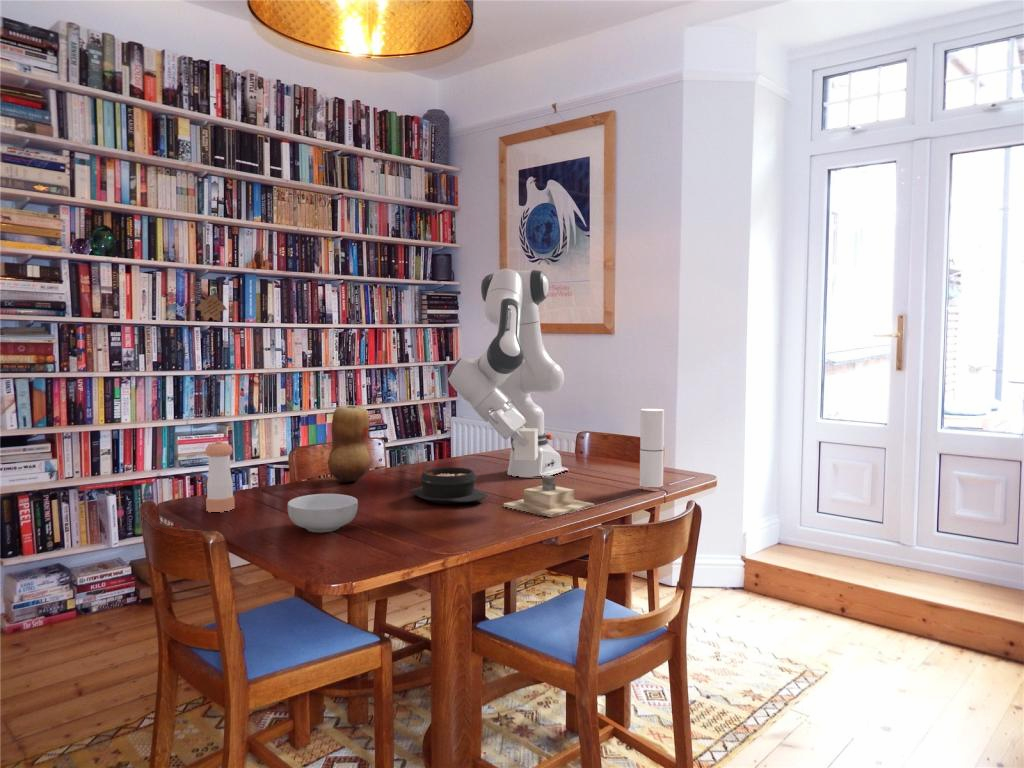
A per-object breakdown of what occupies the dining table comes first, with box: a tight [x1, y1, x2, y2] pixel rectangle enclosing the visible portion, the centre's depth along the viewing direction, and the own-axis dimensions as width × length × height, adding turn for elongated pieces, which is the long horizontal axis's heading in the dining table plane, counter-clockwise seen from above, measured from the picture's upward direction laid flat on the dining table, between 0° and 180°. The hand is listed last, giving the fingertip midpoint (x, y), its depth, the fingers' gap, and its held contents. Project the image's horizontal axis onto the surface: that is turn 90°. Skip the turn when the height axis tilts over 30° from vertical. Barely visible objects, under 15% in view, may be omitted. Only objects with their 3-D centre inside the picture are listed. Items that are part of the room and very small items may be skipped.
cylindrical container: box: [639, 408, 665, 487], centre depth 232 cm, size 7×7×25 cm
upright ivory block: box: [514, 428, 538, 461], centre depth 205 cm, size 6×6×8 cm
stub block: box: [502, 476, 595, 518], centre depth 208 cm, size 18×18×8 cm
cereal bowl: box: [287, 493, 359, 533], centre depth 185 cm, size 17×17×7 cm
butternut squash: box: [327, 404, 371, 483], centre depth 243 cm, size 14×13×25 cm
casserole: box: [409, 466, 489, 505], centre depth 218 cm, size 25×19×8 cm
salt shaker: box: [204, 440, 236, 513], centre depth 204 cm, size 7×7×19 cm
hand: (528, 442), depth 205 cm, fingers closed on upright ivory block, 6 cm apart
